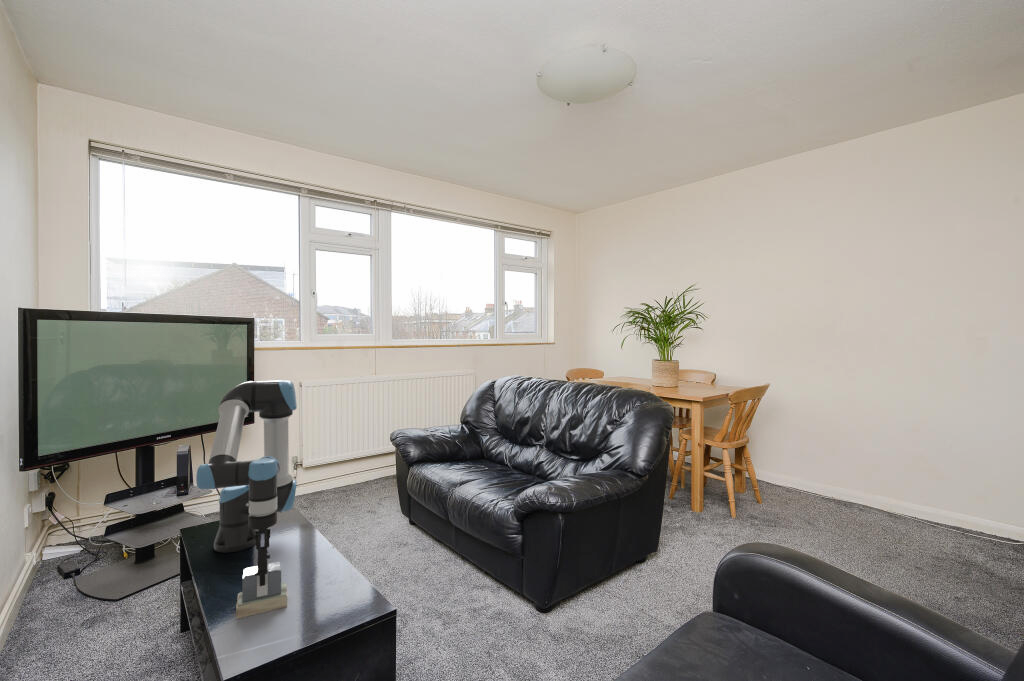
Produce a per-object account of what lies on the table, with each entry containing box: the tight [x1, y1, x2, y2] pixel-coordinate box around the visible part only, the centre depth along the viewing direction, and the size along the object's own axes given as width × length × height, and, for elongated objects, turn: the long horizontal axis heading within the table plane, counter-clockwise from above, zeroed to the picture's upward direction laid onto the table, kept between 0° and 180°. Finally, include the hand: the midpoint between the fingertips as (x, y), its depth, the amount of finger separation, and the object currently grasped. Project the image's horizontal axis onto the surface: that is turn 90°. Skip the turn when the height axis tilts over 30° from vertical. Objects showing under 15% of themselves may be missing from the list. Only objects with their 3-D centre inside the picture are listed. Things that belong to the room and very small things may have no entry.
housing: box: [241, 561, 282, 603], centre depth 136 cm, size 10×6×7 cm, turn 118°
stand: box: [235, 582, 288, 619], centre depth 136 cm, size 8×13×4 cm, turn 118°
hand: (262, 588), depth 136 cm, fingers open, 7 cm apart
